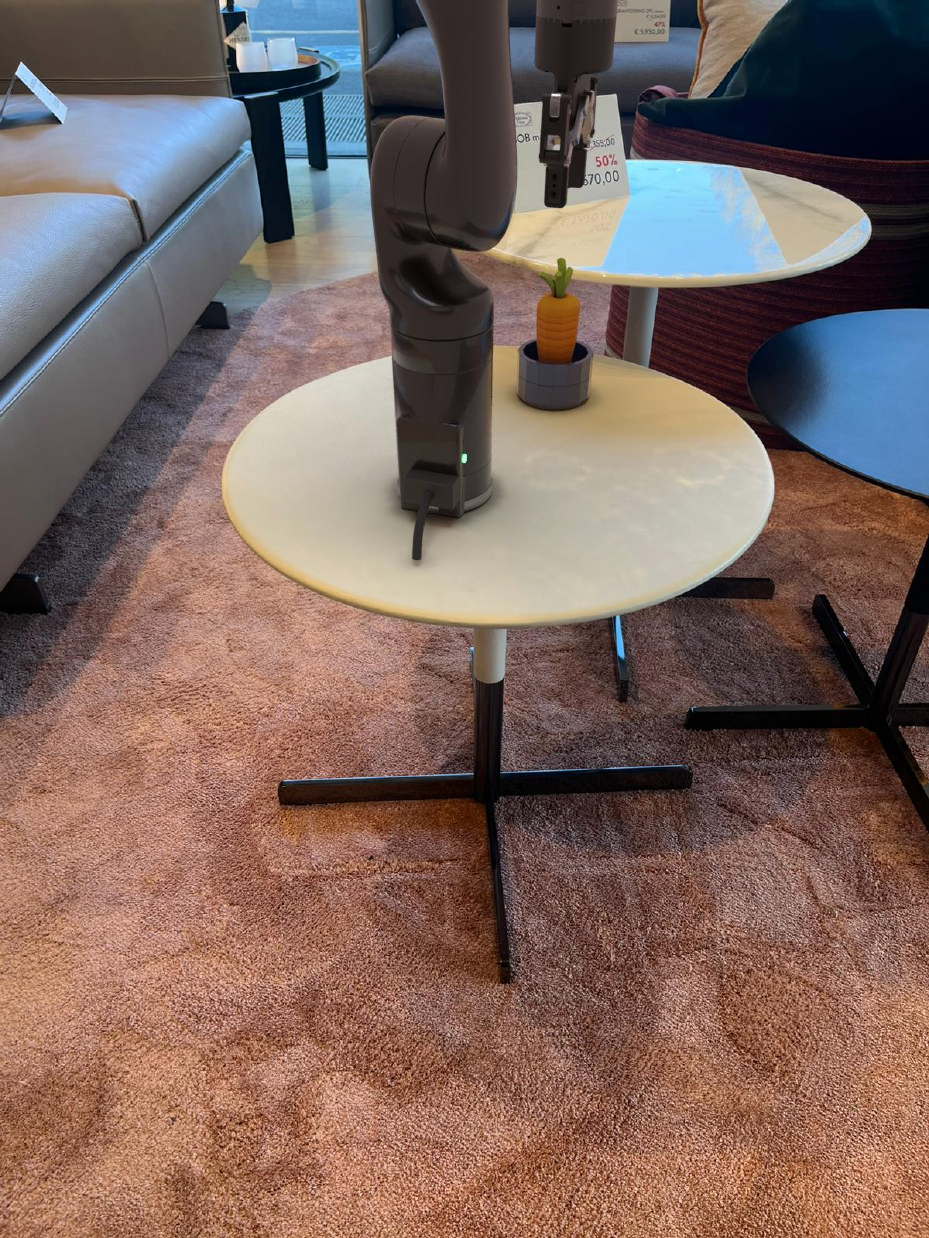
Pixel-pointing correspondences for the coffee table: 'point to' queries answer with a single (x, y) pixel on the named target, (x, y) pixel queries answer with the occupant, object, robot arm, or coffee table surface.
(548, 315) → the carrot
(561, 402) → the cylindrical container
